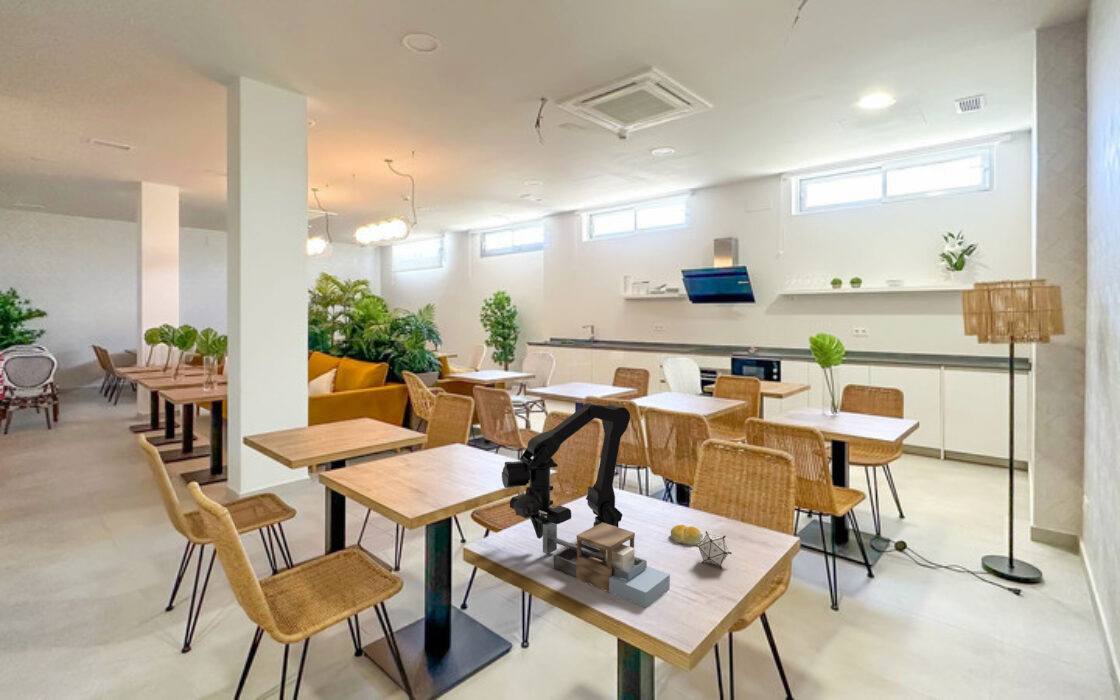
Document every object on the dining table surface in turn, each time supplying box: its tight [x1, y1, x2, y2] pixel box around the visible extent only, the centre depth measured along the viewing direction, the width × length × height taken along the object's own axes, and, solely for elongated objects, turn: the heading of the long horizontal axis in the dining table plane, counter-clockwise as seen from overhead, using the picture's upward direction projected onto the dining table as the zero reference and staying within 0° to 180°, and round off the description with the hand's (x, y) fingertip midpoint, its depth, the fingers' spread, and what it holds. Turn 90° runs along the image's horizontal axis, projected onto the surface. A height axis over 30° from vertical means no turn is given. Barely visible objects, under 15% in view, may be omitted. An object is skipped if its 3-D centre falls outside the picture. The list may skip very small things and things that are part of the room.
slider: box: [542, 521, 648, 581], centre depth 133 cm, size 29×8×8 cm, turn 50°
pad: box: [608, 565, 671, 608], centre depth 123 cm, size 10×11×4 cm
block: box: [606, 543, 635, 571], centre depth 127 cm, size 5×5×5 cm
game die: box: [694, 530, 733, 569], centre depth 137 cm, size 9×8×10 cm
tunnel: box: [553, 522, 636, 593], centre depth 132 cm, size 18×11×11 cm, turn 50°
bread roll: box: [670, 524, 703, 546], centre depth 153 cm, size 8×9×4 cm
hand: (539, 538), depth 144 cm, fingers closed
